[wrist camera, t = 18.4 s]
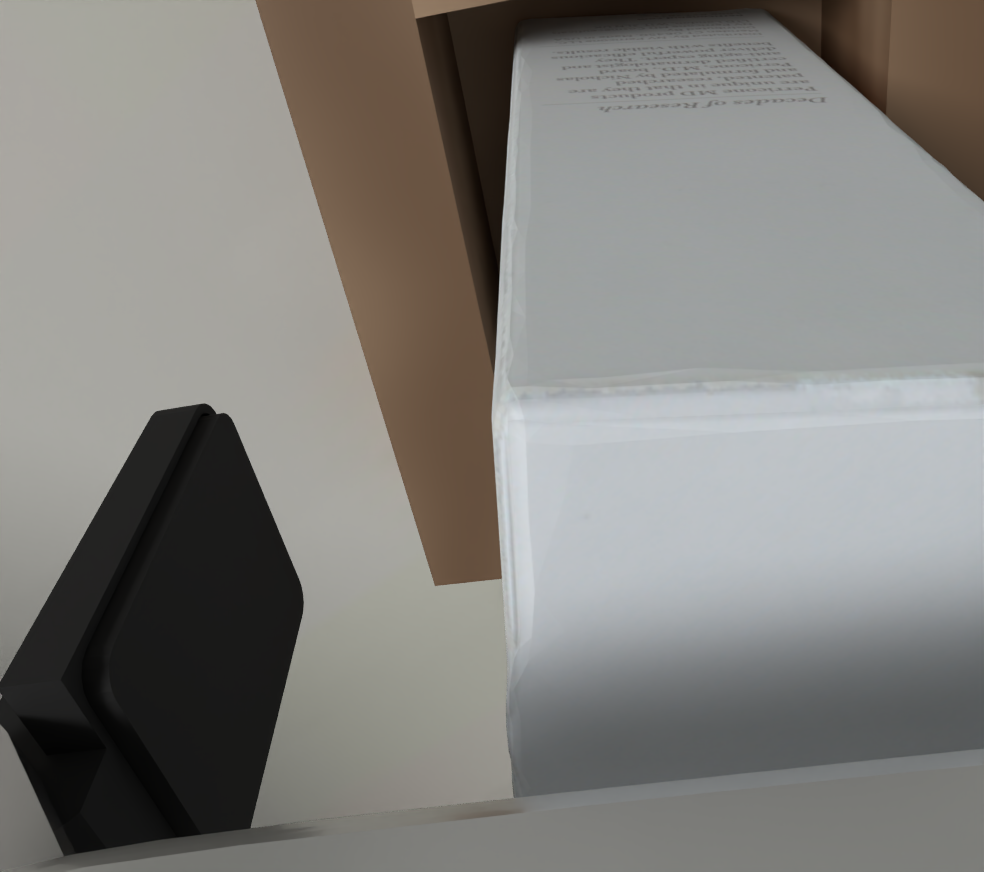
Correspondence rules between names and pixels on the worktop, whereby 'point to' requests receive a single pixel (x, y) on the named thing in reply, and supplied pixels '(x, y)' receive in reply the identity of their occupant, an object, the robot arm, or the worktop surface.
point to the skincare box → (731, 412)
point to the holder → (481, 188)
